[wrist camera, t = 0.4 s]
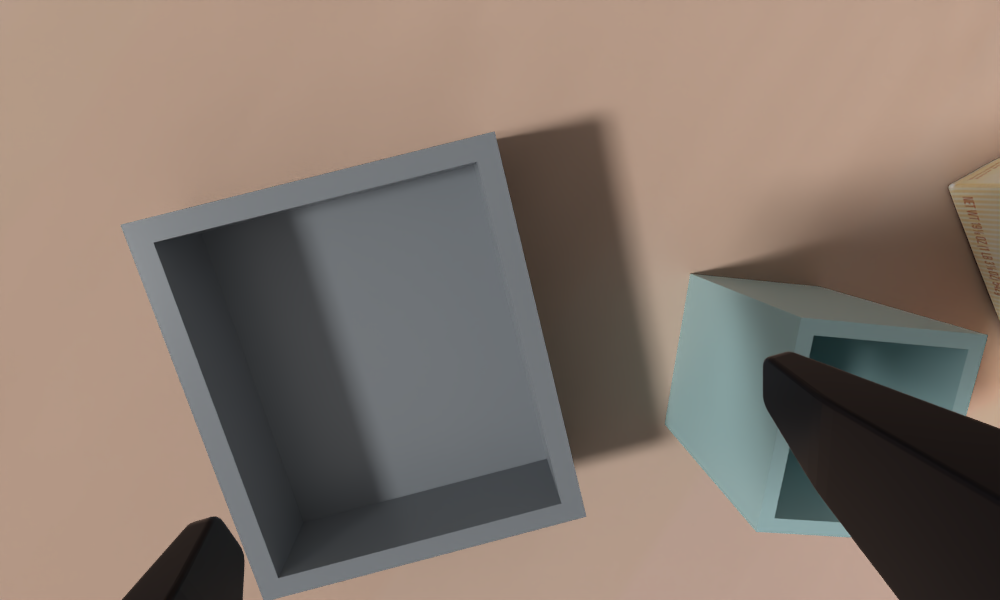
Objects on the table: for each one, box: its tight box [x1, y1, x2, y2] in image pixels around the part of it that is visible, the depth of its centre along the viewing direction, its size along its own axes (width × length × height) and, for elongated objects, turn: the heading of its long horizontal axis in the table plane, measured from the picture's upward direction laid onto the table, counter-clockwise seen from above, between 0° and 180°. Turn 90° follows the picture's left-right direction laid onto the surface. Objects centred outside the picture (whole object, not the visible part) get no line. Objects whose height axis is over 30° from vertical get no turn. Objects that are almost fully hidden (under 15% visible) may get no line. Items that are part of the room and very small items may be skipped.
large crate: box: [121, 132, 586, 600], centre depth 23 cm, size 15×13×4 cm
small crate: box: [665, 274, 988, 537], centre depth 22 cm, size 7×6×8 cm
